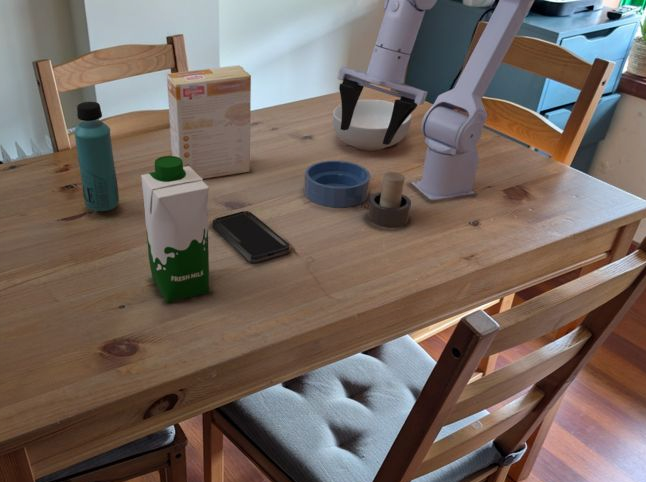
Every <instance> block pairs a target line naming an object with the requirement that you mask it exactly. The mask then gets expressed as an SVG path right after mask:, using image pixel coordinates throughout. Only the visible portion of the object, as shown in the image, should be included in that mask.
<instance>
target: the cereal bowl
mask: <svg viewBox="0 0 646 482" xmlns="http://www.w3.org/2000/svg"><path fill="white" fill-rule="evenodd" d="M393 107H394V102H393V101H388V100H383V99H382V100H381V99H358V101H357V104H356V106H355V109H354V113H353V116H352V120H351V124H350V126H349V129H348V130H341V120H342V103H340V104H339V105H337V106H335V108H334V109H333V112H332V127H333V130H334V133H335V134H336V136H337V138H339V140H341V141H342V142H343V143H345V144H347V145H349V146H351V147H353V148H355V149H357V150H359V151H366V152H374V151H375V152H376V151H380V150H383V149H385V148H389V147H392V146H394V145H396V144H398V143H400V142H401V141H402V140H403V139H404V138H405V137H406V136H407V135H408V132H409V131H410V127H411V123H412V113H411V114H410V115H409V116H408V117H407V118H406V120H405V121H404V122H403V123H402V125H401V126H400V127H399V129H398V130H397V132H396V134H395V135H394V137H393V139H392V141H391V143H390V144H388V145H385V144H383V140H384V137H385V134H386V131H387V129H388V126H389V123H390V120H391V116H392V112H393Z"/></svg>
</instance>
